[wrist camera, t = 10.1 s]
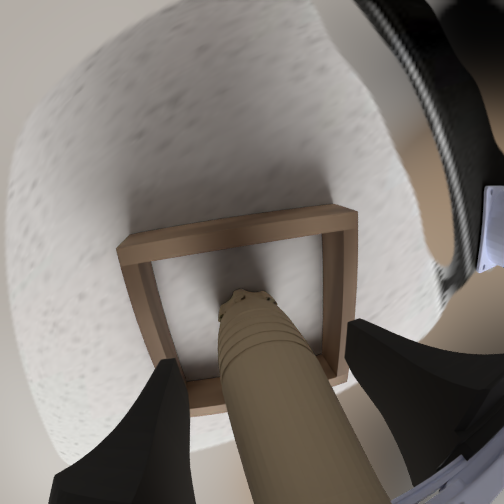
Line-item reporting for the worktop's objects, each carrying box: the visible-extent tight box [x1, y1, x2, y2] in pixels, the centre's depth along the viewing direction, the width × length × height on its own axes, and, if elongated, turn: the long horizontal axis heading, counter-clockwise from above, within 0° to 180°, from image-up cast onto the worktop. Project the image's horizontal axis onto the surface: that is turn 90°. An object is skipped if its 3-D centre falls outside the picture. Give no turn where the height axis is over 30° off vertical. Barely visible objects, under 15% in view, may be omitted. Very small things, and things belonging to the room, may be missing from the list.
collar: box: [116, 204, 358, 417], centre depth 14 cm, size 11×11×3 cm
